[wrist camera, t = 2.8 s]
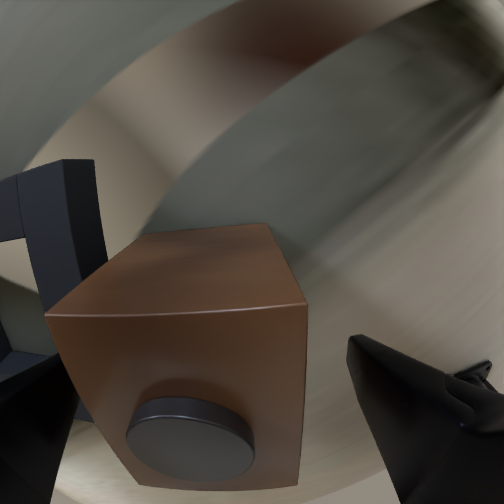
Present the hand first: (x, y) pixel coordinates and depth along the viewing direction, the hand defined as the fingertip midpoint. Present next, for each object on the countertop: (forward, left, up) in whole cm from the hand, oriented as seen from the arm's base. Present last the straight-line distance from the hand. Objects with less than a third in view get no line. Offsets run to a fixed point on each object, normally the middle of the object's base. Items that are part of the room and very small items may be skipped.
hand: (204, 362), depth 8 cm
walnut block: (0, 0, -4) cm, 4 cm away
